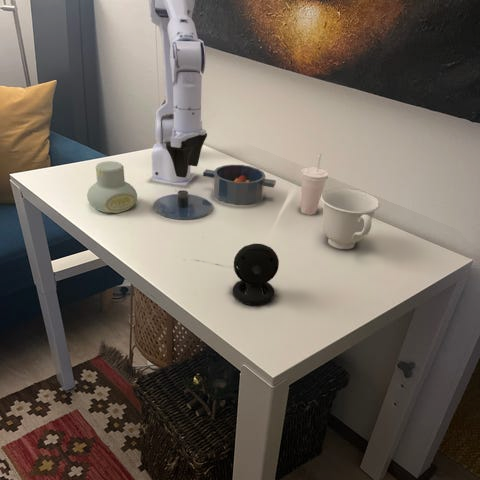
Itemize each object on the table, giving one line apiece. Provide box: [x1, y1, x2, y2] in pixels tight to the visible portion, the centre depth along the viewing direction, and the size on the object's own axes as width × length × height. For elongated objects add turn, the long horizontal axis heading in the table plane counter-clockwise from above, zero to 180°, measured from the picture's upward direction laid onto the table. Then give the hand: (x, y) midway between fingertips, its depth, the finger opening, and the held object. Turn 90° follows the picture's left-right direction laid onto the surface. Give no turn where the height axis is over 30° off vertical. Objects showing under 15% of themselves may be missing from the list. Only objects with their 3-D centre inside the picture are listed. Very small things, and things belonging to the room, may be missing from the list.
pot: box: [202, 164, 277, 206], centre depth 123 cm, size 12×18×6 cm
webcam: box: [232, 243, 280, 306], centre depth 86 cm, size 8×8×10 cm
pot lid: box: [153, 189, 213, 221], centre depth 115 cm, size 13×13×4 cm
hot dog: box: [234, 175, 249, 182], centre depth 123 cm, size 8×3×4 cm, turn 165°
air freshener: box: [86, 160, 138, 214], centre depth 111 cm, size 11×8×10 cm
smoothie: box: [299, 152, 329, 215], centre depth 116 cm, size 6×6×14 cm
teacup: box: [320, 188, 381, 250], centre depth 104 cm, size 12×15×10 cm
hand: (187, 170), depth 111 cm, fingers open, 7 cm apart
